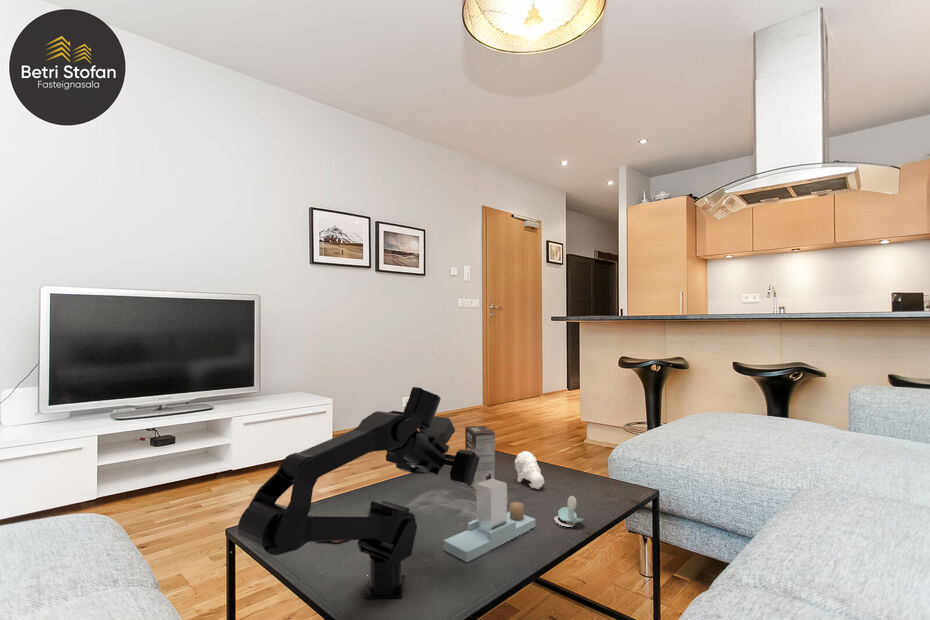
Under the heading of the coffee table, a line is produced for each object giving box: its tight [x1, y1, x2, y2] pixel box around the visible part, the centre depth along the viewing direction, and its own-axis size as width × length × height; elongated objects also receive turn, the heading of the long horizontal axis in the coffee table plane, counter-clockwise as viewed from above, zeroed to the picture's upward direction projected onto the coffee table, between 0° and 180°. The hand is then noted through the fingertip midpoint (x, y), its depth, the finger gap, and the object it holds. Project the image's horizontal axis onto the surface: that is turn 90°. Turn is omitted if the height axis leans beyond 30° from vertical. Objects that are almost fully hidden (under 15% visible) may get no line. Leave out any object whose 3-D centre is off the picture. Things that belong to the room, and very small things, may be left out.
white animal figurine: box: [514, 450, 545, 490], centre depth 136 cm, size 6×8×12 cm
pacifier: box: [553, 495, 584, 528], centre depth 110 cm, size 7×6×6 cm
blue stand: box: [443, 501, 536, 563], centre depth 102 cm, size 22×7×5 cm, turn 134°
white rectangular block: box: [476, 478, 508, 534], centre depth 103 cm, size 6×4×10 cm
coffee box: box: [464, 425, 496, 491], centre depth 136 cm, size 9×6×16 cm
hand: (455, 474), depth 101 cm, fingers open, 9 cm apart
